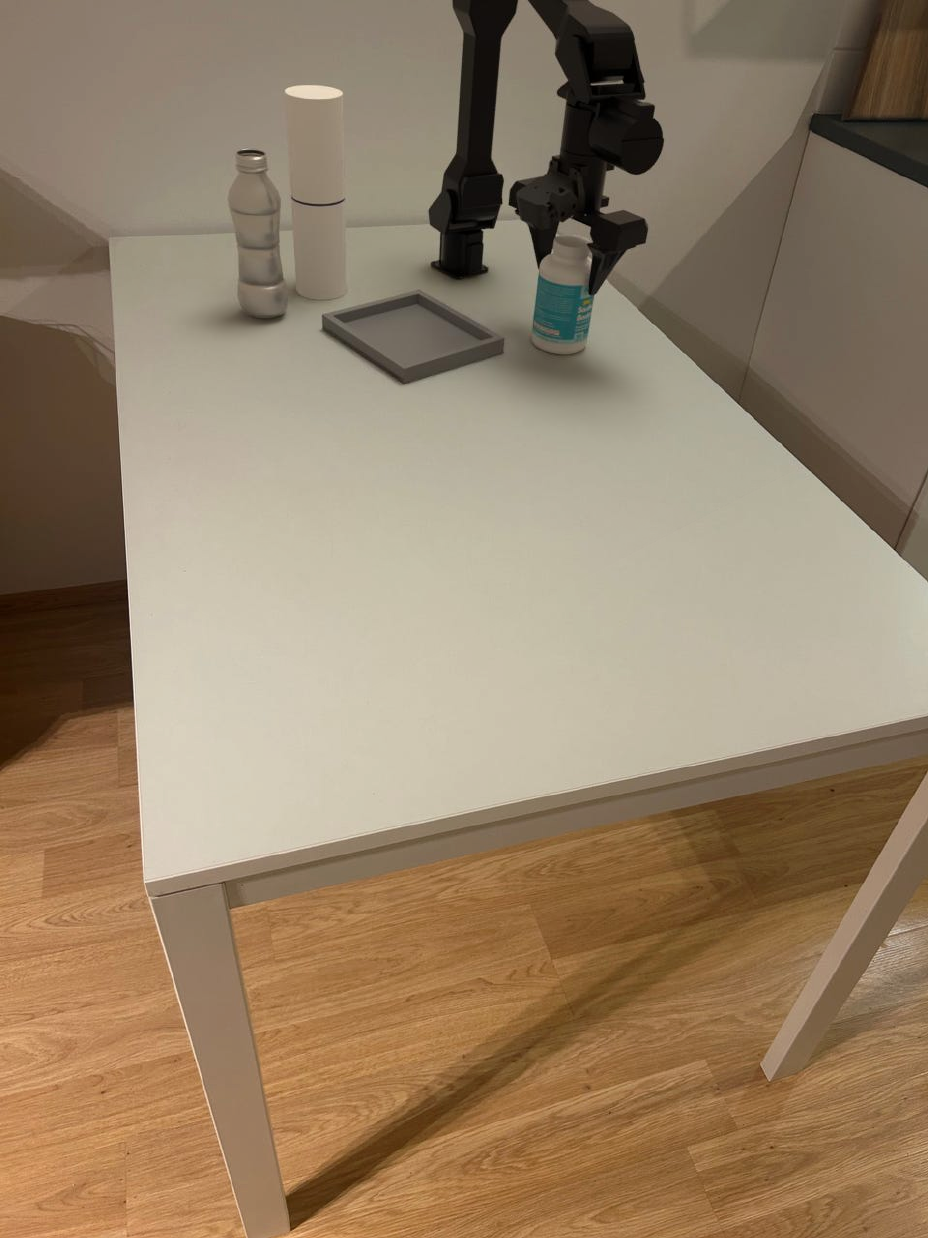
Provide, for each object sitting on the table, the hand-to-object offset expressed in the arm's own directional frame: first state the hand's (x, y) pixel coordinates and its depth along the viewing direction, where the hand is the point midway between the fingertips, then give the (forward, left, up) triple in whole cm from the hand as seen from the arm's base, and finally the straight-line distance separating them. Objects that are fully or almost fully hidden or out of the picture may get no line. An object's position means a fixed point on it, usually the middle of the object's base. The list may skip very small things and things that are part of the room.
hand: (566, 281), depth 118 cm
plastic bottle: (-28, -28, -8) cm, 40 cm away
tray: (-11, -16, -8) cm, 21 cm away
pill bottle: (0, 0, -8) cm, 9 cm away
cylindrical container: (-31, -17, -8) cm, 36 cm away
